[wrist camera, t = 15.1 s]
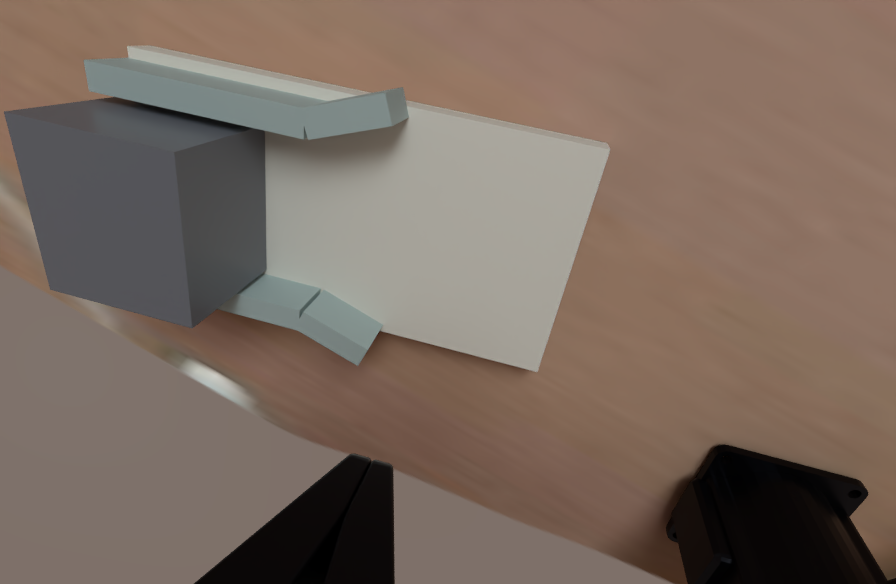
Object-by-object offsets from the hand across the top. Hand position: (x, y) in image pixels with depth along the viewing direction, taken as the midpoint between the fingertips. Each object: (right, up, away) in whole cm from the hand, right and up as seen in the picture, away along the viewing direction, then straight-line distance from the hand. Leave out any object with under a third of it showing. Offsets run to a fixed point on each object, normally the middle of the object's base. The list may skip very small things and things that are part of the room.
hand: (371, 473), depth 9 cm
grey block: (-9, +8, +11) cm, 16 cm away
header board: (-2, +7, +11) cm, 13 cm away
